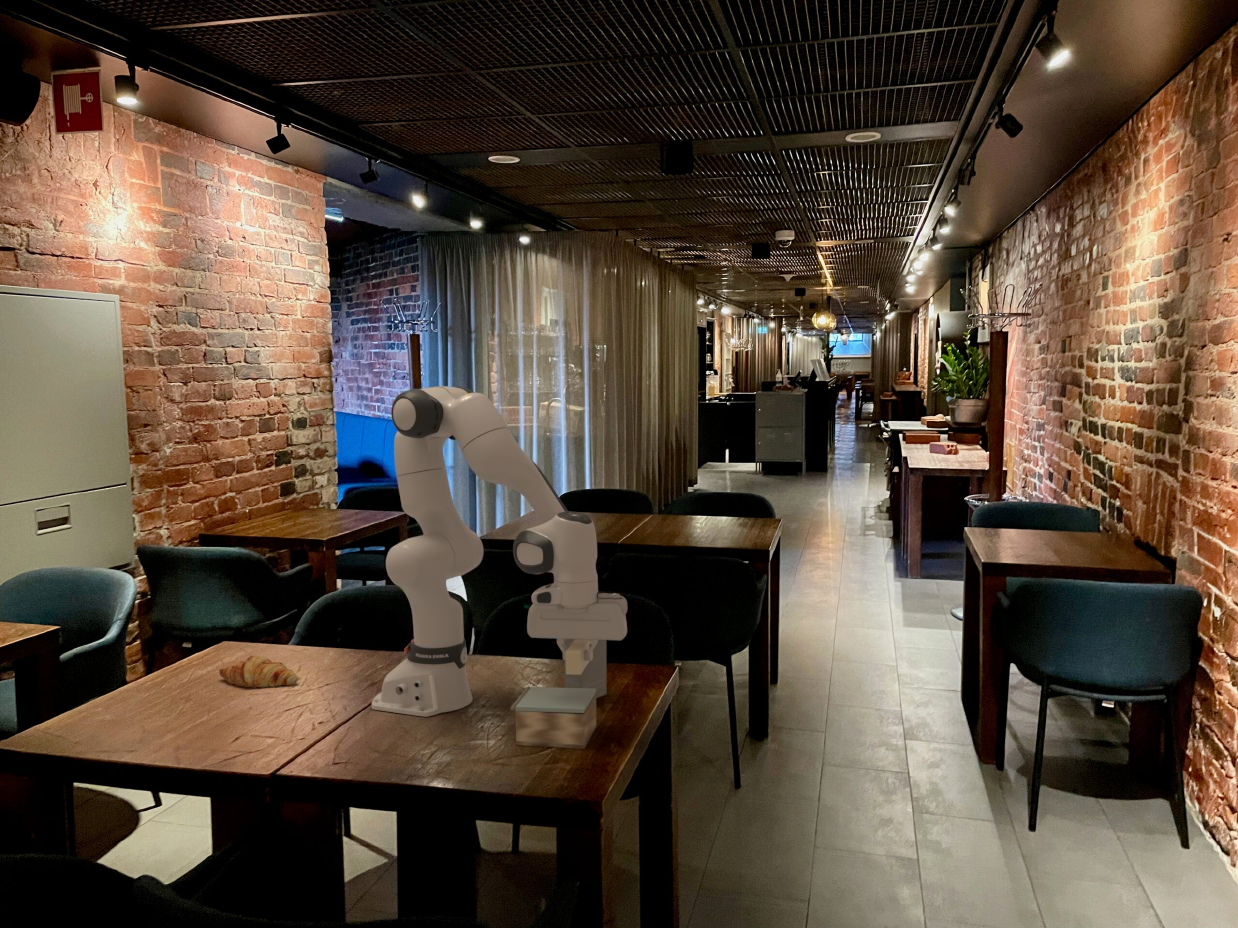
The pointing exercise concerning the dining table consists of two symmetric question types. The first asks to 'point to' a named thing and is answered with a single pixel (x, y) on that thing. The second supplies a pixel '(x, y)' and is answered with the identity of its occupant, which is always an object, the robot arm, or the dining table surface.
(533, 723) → the crate
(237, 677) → the croissant
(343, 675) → the dining table surface
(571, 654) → the tan rectangular block
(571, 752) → the dining table surface
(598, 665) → the skincare box
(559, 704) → the lid
